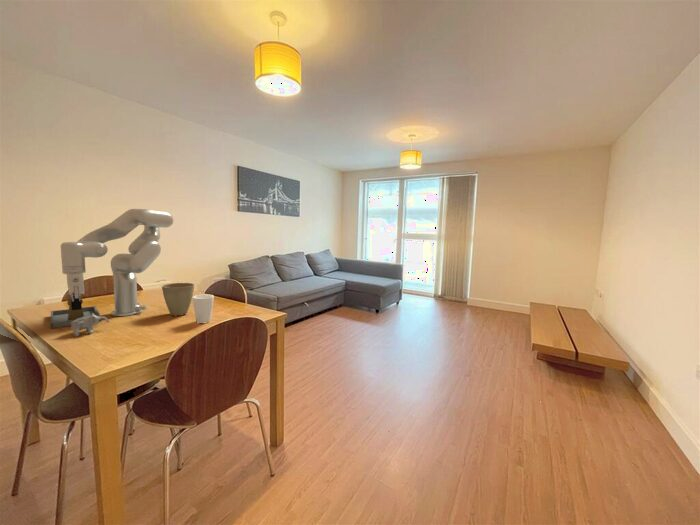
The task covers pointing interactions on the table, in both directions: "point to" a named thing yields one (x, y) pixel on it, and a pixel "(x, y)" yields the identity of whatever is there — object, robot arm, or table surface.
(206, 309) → the foam cup
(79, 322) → the gray elephant figurine
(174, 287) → the plant pot
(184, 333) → the table surface
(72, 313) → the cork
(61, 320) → the tray
